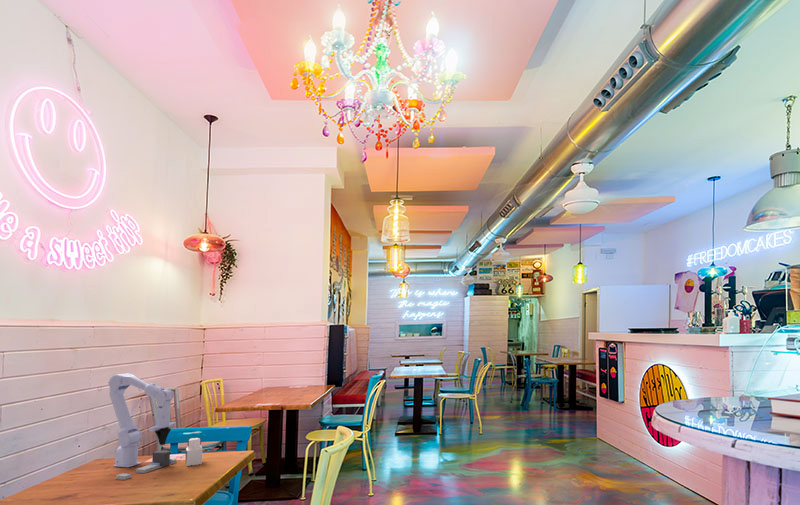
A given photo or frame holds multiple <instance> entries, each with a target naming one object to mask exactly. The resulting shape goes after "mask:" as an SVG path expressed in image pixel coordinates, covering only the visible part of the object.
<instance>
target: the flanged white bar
mask: <svg viewBox="0 0 800 505" xmlns="http://www.w3.org/2000/svg"><path fill="white" fill-rule="evenodd" d="M176 463H177V458H170V464H169V465H168V466H170V465H172V464H176ZM162 468H164V467H163V466H160V463H152V462H150V464H148V465H145V466H144V465H143V466H142V467H138V468H136V469H135V473H137V474H146V473H149V472H152V471H156V470H158V469H162ZM131 478H132V473H120V474H116V476H115V480H122V481H126V480H129V479H131Z"/></svg>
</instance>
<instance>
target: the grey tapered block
mask: <svg viewBox="0 0 800 505" xmlns="http://www.w3.org/2000/svg"><path fill="white" fill-rule="evenodd" d="M170 459H171V451H167V450H156V451H153V452H152V459H151V460H152V461H151V463H160V466H164V467H167V466H170V465H171V464H170ZM169 464H170V465H169Z"/></svg>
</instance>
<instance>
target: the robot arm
mask: <svg viewBox="0 0 800 505" xmlns="http://www.w3.org/2000/svg"><path fill="white" fill-rule="evenodd" d="M107 383H108V386H109V398H110V400H111V403H112V406H113V409H114V412H115V416H116V418H117V422H118V425H119V431H118V432H117V436H118V440H117V442H118V444H119V446H118V447H117V449H116V451H115V462H114V465H113V467H116V468H117V467H118V468H119V467H120V468H121V467H122V468H130V467H133V466H137V465H140V464H142V461H141V462H140V461H138V455H139V445H140V442H141V441H142V439H143V433H142V431H141V430H140V429H139V427H138V426H137V425H136V424H134V422H133V420H132V417H131V414H130V411H129V408H128V404H127V402H126V399H125V396H124V394H125V391H126V390H127V389H128V388H129V387H130V386H133V387H135V388H138V389H140V390H143V391H144V394H146V395H147V396H149V397H151V398H153V399H155V401H156V405H157V411H156V412H157V413H156V425H154V426H150V427H149V432H150V433H152V432H154V433H155V434H156V438H157V439H158V443H159V445H161V446H163V445H164V446H165V444H166V442H167V438H168V436H169V434H170V432H171V430H172V429H171V427H176V426H177V422H175V421H172V422H171V400H173V398H174V391H173V390H172V389H170V388H166V389H165V387H163V386H159V385H158V384H157V383H156V382H150V383H148V382H146V381H144V380H142V379H140V378H138V377H137V376H136V375H135V374H132V373H129V372H126V373H120V374H117V373H116V374H113V375H112V376H111V377H110V379H109V381H108V382H107Z"/></svg>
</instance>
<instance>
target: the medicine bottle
mask: <svg viewBox="0 0 800 505" xmlns="http://www.w3.org/2000/svg"><path fill="white" fill-rule="evenodd" d="M203 449H204V448H203V447H202V438H201V437H198V436H194V437H190V438H188V439H187V447H186V448H185V467H189V466H190V467H191V465H192V466H198V465H199V464H200V465H203ZM200 465H199V466H200Z"/></svg>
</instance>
